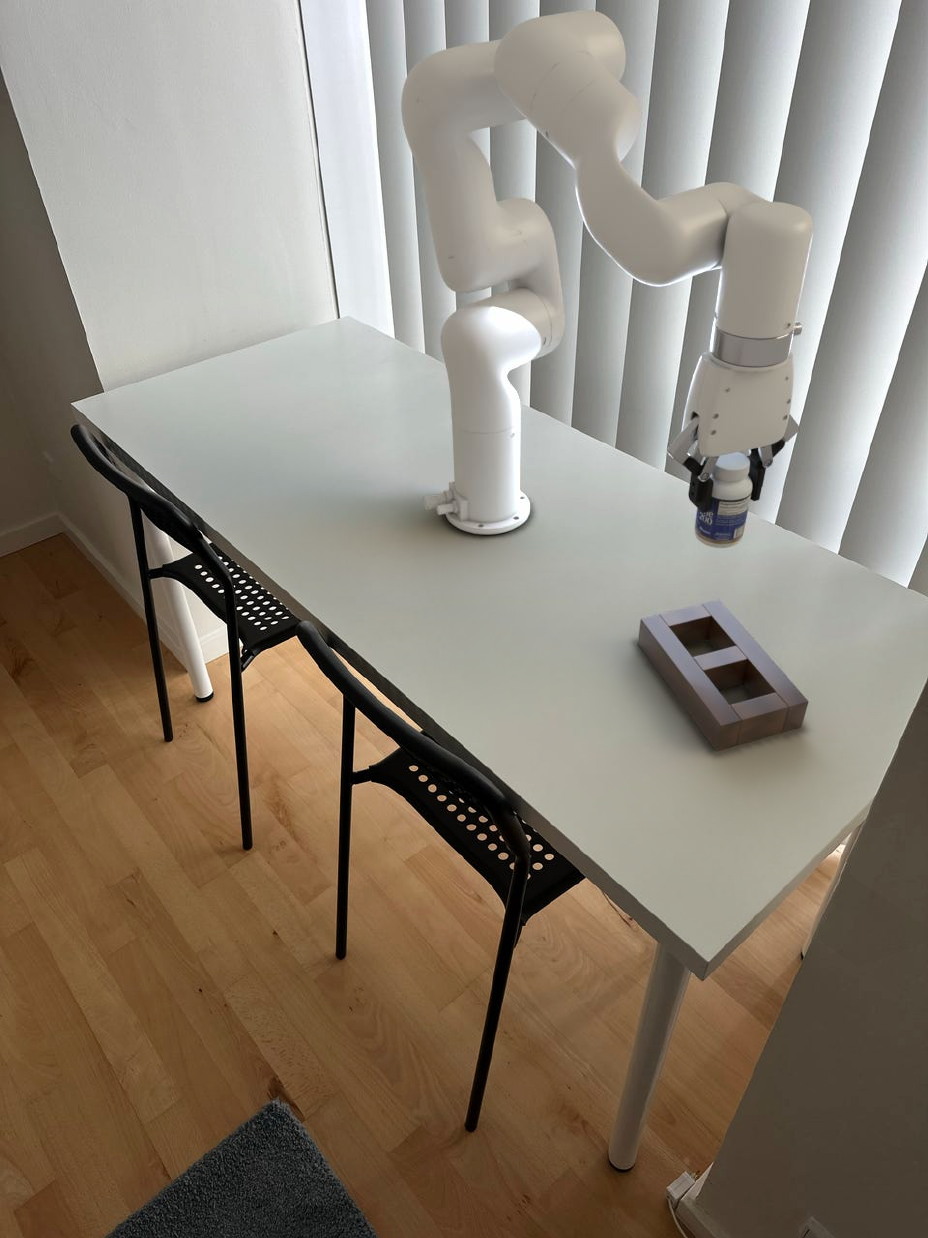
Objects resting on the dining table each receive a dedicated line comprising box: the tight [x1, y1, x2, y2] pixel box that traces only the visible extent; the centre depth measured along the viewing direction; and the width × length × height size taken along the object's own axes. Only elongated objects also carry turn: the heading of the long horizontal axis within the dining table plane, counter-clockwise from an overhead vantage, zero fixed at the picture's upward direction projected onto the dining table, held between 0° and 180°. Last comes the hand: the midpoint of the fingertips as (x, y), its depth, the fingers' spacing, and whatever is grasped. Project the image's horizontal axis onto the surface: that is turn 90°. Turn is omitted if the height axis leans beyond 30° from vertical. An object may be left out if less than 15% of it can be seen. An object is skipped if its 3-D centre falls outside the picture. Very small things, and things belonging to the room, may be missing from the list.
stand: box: [637, 599, 809, 752], centre depth 110 cm, size 11×19×4 cm, turn 18°
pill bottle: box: [693, 452, 752, 549], centre depth 103 cm, size 5×5×10 cm
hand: (724, 498), depth 103 cm, fingers closed on pill bottle, 5 cm apart
